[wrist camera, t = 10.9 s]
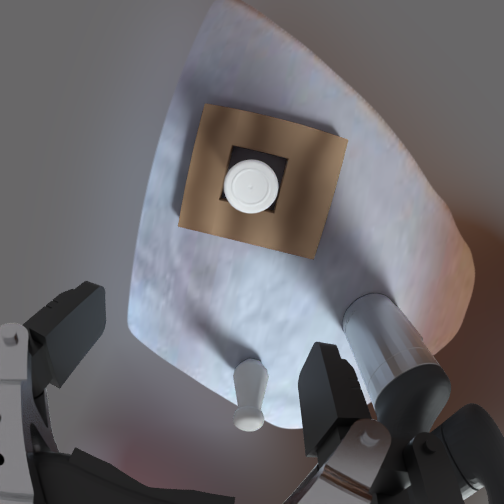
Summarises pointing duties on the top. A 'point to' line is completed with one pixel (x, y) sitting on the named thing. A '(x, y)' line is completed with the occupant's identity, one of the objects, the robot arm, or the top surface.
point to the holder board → (291, 188)
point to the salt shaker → (250, 394)
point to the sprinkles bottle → (251, 186)
